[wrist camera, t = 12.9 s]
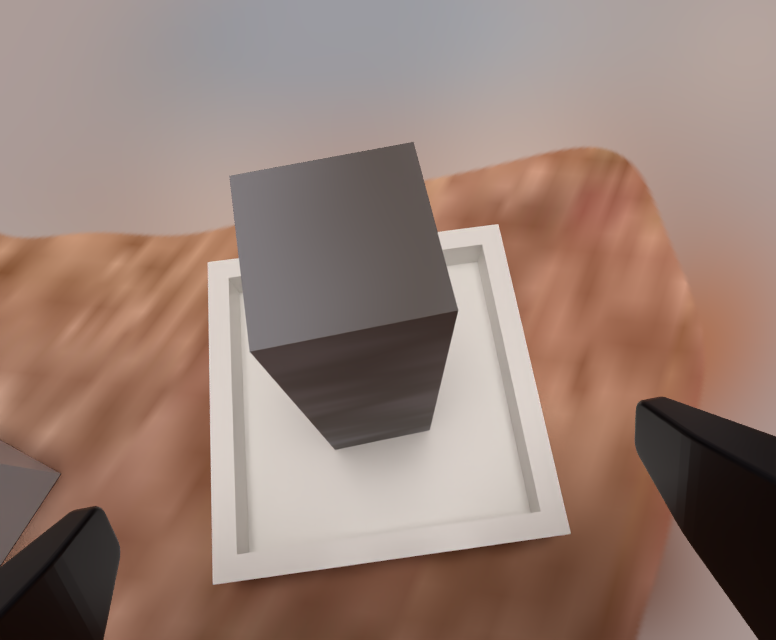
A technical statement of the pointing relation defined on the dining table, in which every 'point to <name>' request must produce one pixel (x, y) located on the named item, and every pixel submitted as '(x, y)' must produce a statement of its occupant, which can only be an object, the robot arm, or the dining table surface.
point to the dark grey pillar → (347, 290)
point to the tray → (382, 444)
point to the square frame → (20, 493)
